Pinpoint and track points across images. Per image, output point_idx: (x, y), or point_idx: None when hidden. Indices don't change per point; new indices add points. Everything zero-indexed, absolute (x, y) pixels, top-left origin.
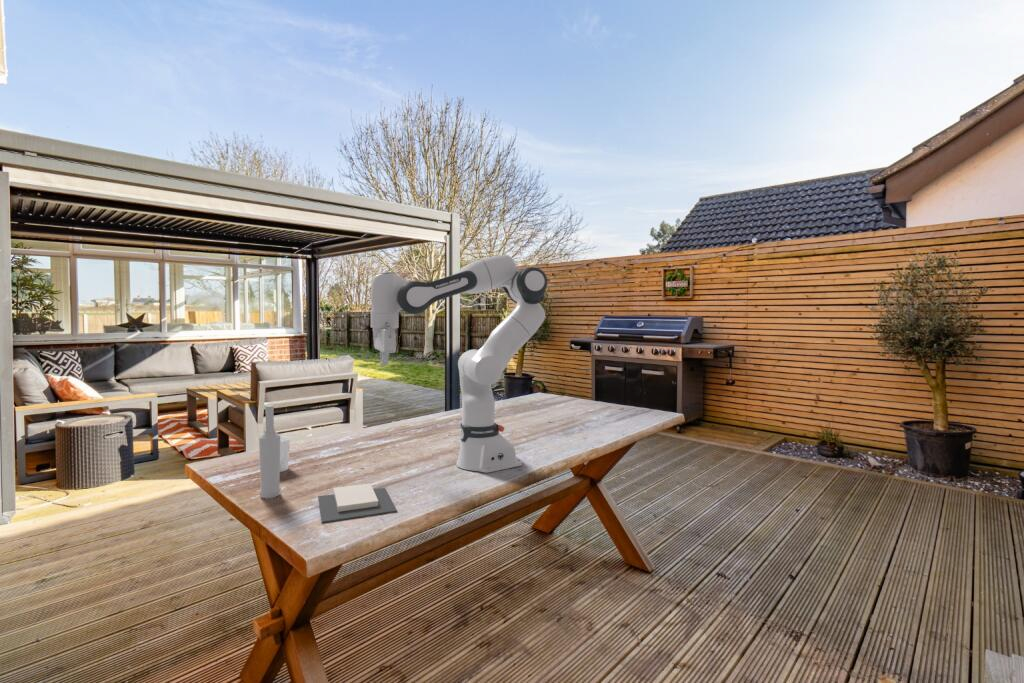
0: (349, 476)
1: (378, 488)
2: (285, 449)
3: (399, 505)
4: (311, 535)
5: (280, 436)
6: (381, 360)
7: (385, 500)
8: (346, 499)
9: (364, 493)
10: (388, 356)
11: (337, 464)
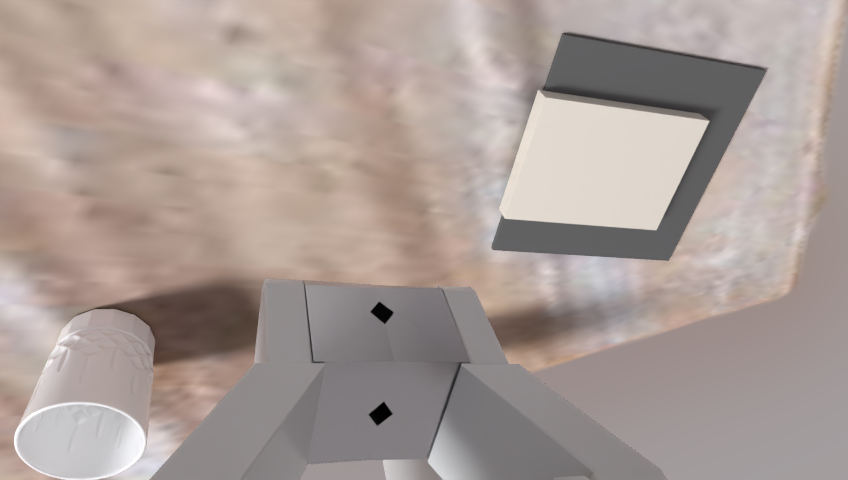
0: (331, 118)
1: (557, 61)
2: (131, 382)
3: (729, 42)
4: (705, 281)
5: (20, 433)
6: (333, 441)
7: (674, 76)
8: (627, 201)
9: (622, 143)
10: (604, 437)
11: (114, 127)
